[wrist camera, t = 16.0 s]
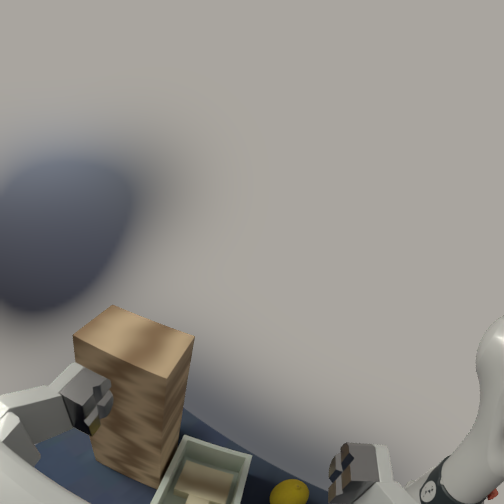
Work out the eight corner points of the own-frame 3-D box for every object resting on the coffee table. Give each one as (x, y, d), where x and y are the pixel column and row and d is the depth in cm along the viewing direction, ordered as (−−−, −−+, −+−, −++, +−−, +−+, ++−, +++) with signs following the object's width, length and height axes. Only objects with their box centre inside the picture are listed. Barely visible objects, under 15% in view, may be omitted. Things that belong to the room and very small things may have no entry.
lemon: (277, 487, 38) (294, 465, 35) (303, 505, 34) (323, 484, 32) (256, 506, 33) (271, 486, 31) (283, 525, 30) (302, 508, 28)
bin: (243, 472, 40) (252, 455, 38) (217, 564, 22) (224, 558, 20) (181, 453, 41) (184, 434, 39) (140, 539, 23) (137, 529, 21)
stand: (176, 455, 40) (194, 336, 32) (159, 490, 32) (166, 378, 25) (117, 429, 41) (112, 304, 33) (96, 460, 33) (72, 334, 26)
